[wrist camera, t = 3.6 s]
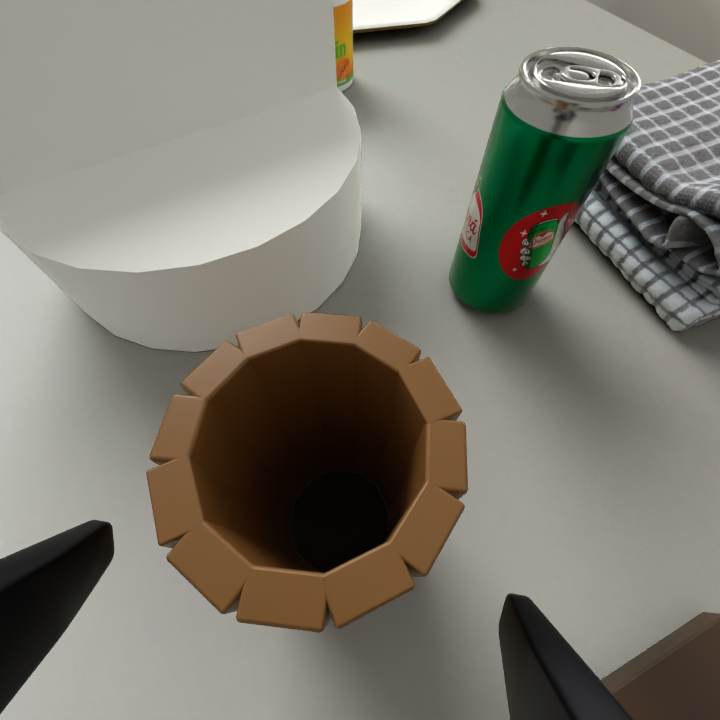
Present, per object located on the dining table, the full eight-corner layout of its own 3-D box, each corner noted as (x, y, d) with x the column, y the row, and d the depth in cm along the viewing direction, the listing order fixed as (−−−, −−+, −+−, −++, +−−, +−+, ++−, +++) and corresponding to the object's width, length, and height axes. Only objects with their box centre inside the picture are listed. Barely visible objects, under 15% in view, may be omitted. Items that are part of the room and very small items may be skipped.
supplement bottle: (303, 99, 36) (285, -49, 27) (294, 71, 38) (275, -72, 30) (359, 92, 36) (359, -55, 28) (347, 65, 39) (343, -78, 30)
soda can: (459, 248, 26) (524, 32, 16) (533, 270, 25) (655, 54, 15) (437, 303, 24) (497, 92, 14) (518, 329, 23) (650, 123, 13)
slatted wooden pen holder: (300, 622, 16) (185, 712, 5) (258, 486, 19) (127, 369, 8) (427, 556, 17) (535, 524, 7) (371, 437, 20) (383, 280, 9)
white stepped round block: (113, 413, 20) (-213, 197, 9) (43, 200, 29) (-171, -54, 17) (418, 263, 26) (465, 3, 14) (283, 120, 34) (244, -117, 22)
